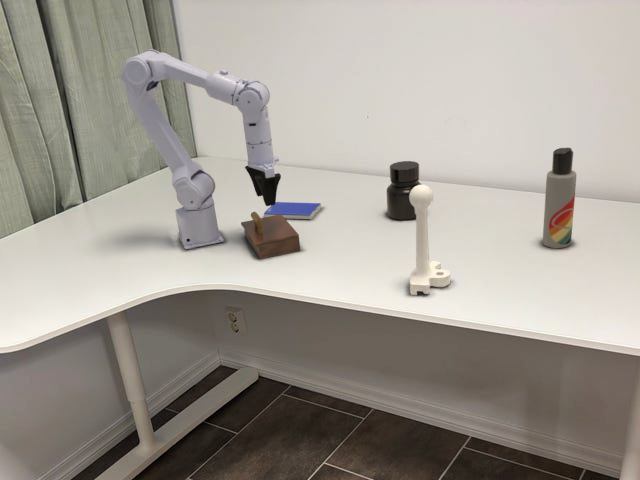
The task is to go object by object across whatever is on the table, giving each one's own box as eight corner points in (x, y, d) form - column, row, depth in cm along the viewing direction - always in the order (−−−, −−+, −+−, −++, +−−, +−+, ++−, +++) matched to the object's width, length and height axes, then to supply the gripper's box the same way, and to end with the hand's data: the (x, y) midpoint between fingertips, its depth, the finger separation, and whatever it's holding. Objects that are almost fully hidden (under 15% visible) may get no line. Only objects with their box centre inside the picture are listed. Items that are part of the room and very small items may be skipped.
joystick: (419, 270, 159) (416, 175, 149) (455, 272, 157) (455, 175, 147) (405, 294, 151) (401, 195, 141) (444, 297, 148) (443, 196, 138)
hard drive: (263, 212, 195) (310, 214, 191) (275, 201, 202) (320, 202, 197) (264, 218, 196) (310, 220, 192) (276, 207, 202) (321, 208, 198)
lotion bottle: (572, 248, 161) (580, 152, 150) (543, 248, 162) (549, 153, 152) (569, 237, 165) (577, 144, 155) (541, 238, 167) (547, 145, 157)
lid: (255, 245, 172) (253, 228, 170) (241, 224, 184) (238, 207, 182) (299, 236, 174) (297, 219, 172) (281, 216, 186) (279, 199, 184)
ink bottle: (427, 219, 183) (426, 169, 177) (389, 223, 184) (387, 173, 178) (421, 205, 192) (420, 157, 186) (385, 209, 192) (383, 161, 186)
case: (260, 259, 174) (258, 245, 172) (245, 237, 186) (243, 224, 185) (300, 250, 175) (299, 237, 174) (283, 229, 188) (281, 216, 186)
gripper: (285, 145, 165) (291, 206, 172) (267, 130, 178) (274, 188, 185) (253, 151, 164) (261, 212, 171) (237, 136, 176) (245, 193, 183)
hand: (266, 200), depth 178 cm, fingers open, 7 cm apart
